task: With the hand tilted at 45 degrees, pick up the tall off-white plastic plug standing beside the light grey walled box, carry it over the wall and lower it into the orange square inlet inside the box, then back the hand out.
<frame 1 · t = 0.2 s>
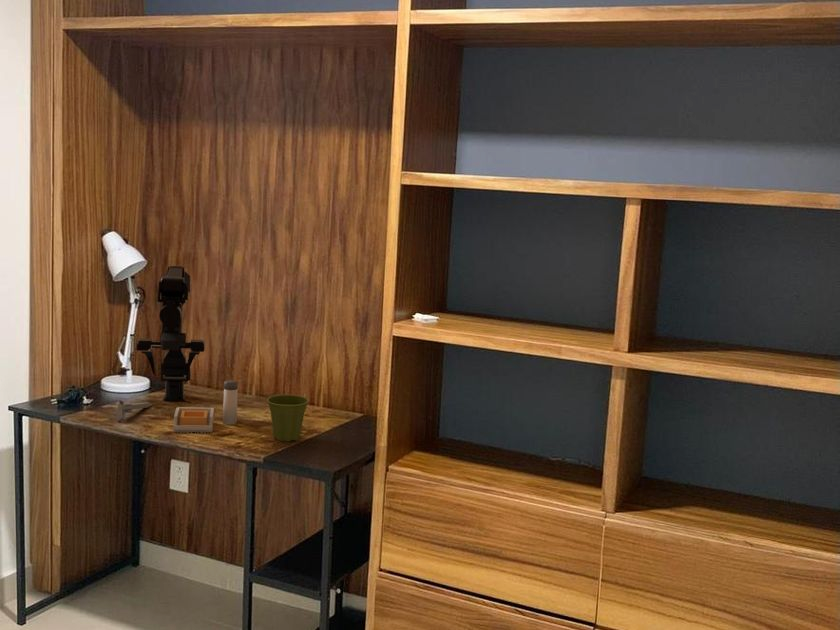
hand: (170, 374, 247), 14 cm above the table, tool pointing down, fingers open, 9 cm apart
plug: (229, 423, 253), on the table
caliper: (135, 414, 257), on the table
socket box: (193, 427, 246), on the table
plant pot: (286, 438, 241), on the table
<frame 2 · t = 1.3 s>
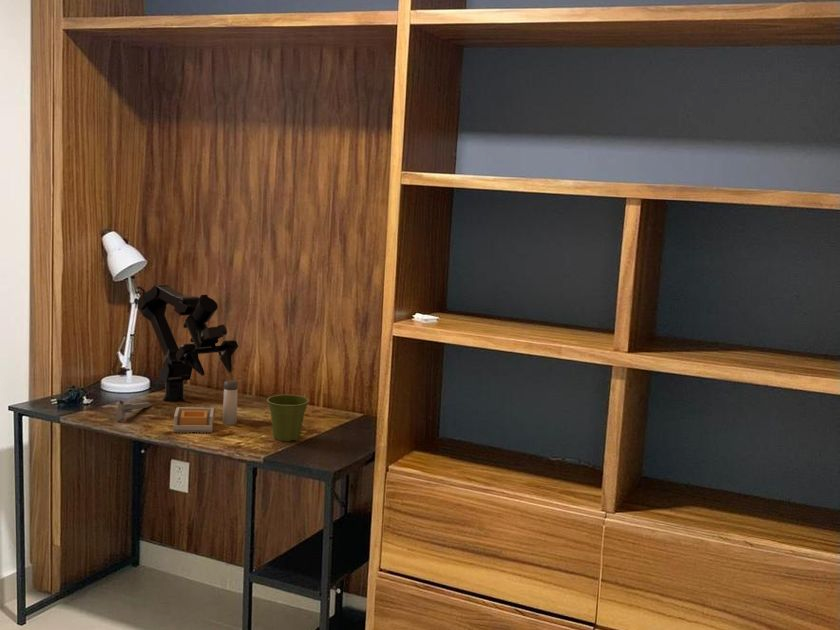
hand: (217, 373, 256), 14 cm above the table, tool tilted 45°, fingers open, 9 cm apart
nothing on the table moved.
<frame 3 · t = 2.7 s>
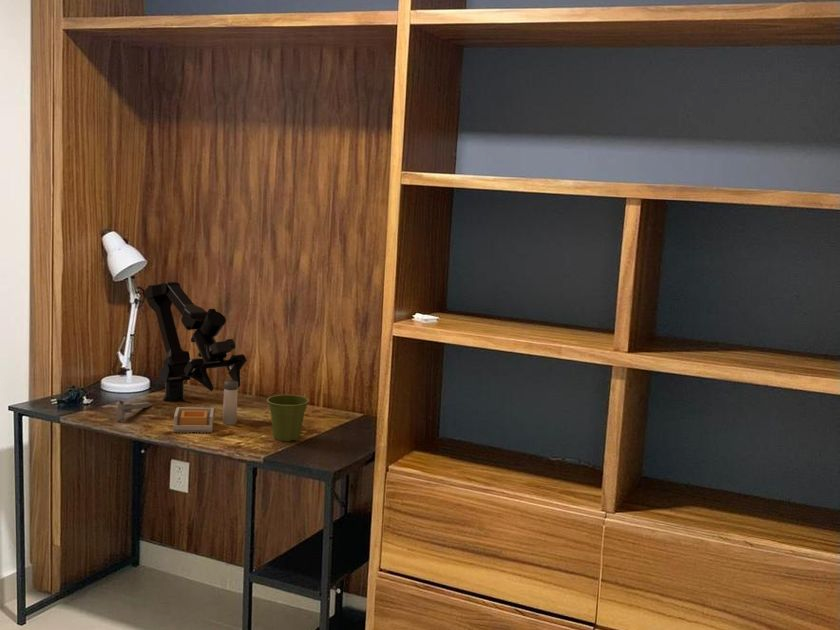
hand: (225, 388, 253), 10 cm above the table, tool tilted 45°, fingers open, 9 cm apart
nothing on the table moved.
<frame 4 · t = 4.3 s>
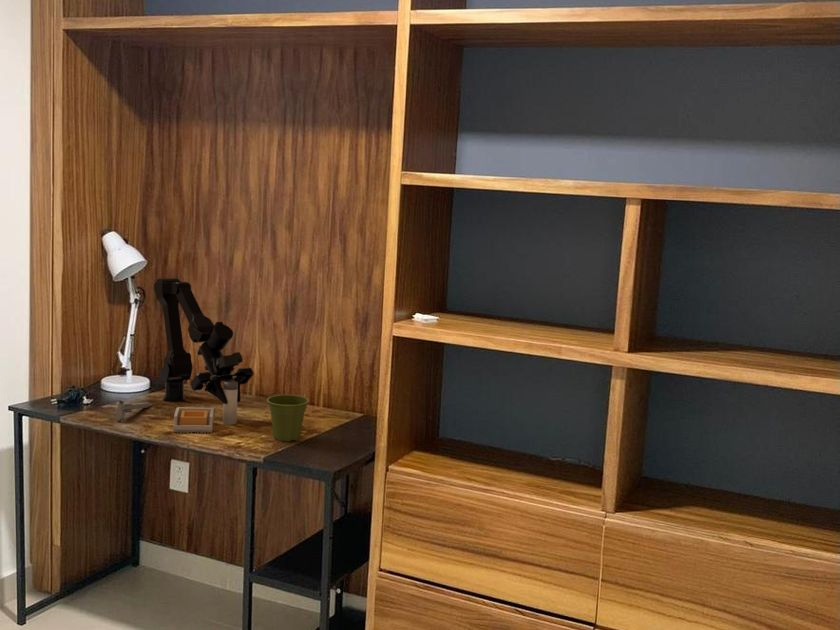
hand: (232, 402, 251), 7 cm above the table, tool tilted 45°, fingers closed on plug, 4 cm apart
plug: (229, 423, 253), on the table, touching gripper
everything else where it was.
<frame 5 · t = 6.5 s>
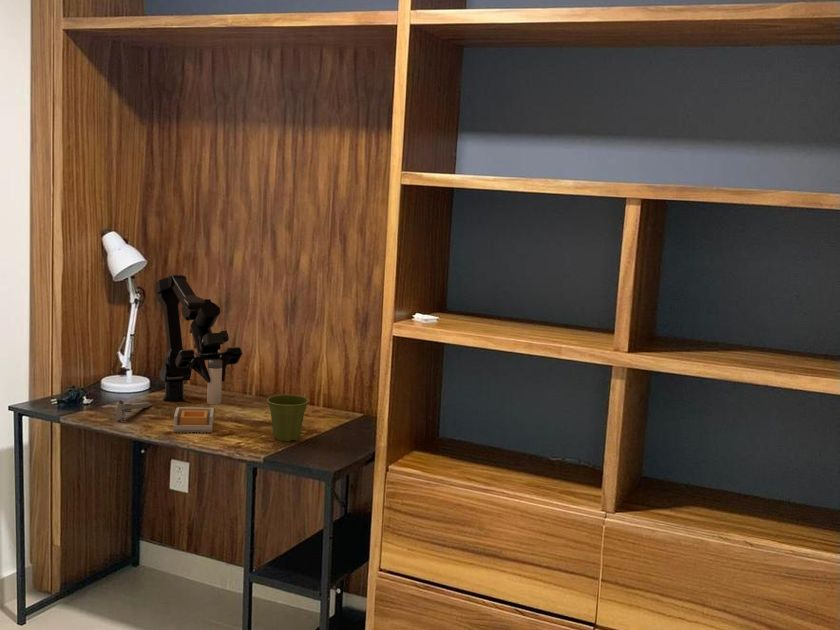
hand: (216, 381, 246), 14 cm above the table, tool tilted 45°, fingers closed on plug, 4 cm apart
plug: (214, 402, 248), point 7 cm above the table, touching gripper
everything else where it was.
when the fingers open (9 cm above the table, at t = 9.0 s): plug drops 1 cm, resting on socket box.
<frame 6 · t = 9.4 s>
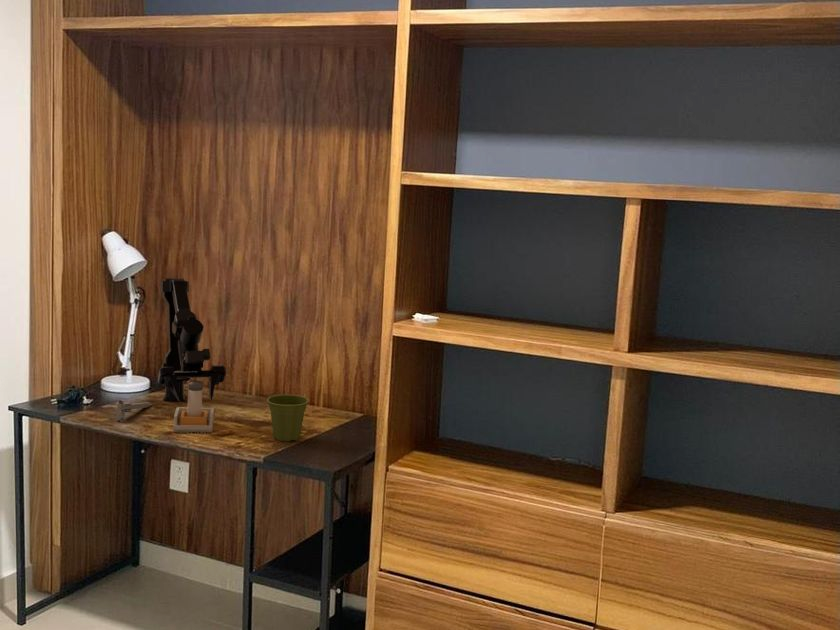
hand: (195, 399, 243), 9 cm above the table, tool tilted 45°, fingers open, 9 cm apart
plug: (193, 424, 246), point 1 cm above the table, touching socket box
everything else where it was.
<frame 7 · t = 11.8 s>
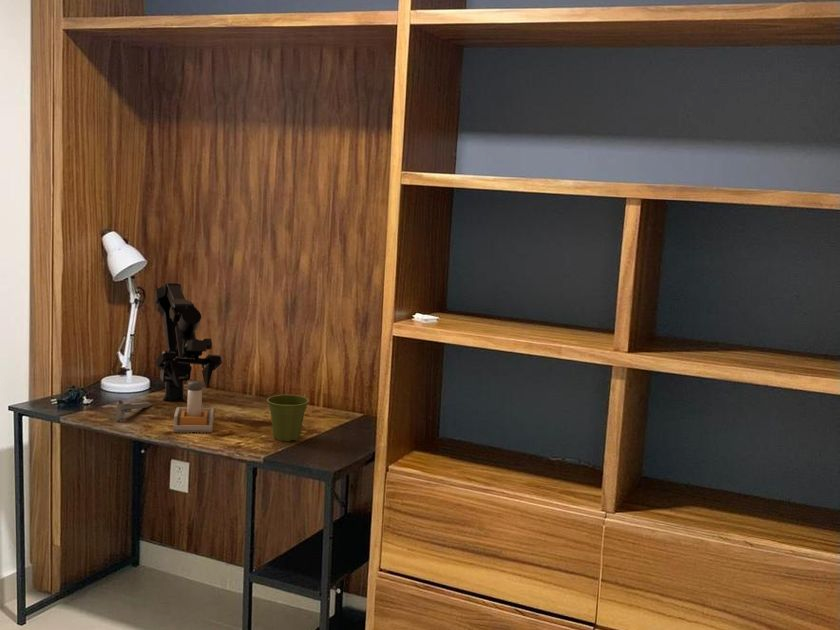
hand: (192, 386, 252), 10 cm above the table, tool tilted 40°, fingers open, 9 cm apart
nothing on the table moved.
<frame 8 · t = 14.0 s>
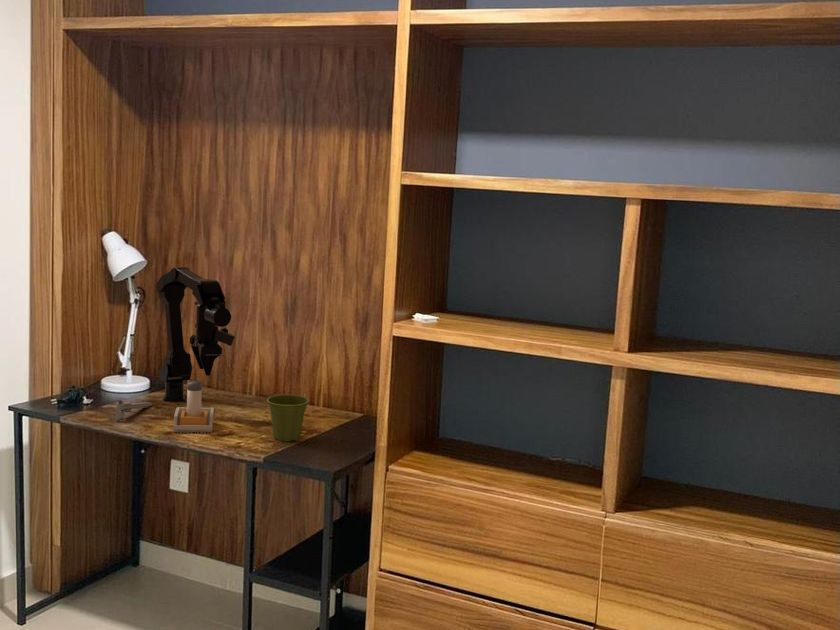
hand: (204, 372, 259), 13 cm above the table, tool pointing down, fingers open, 9 cm apart
nothing on the table moved.
at the end: plug 0.0 cm off-centre on the socket box, point 0.8 cm above the socket box's base; plug tilted 1°; the gripper is holding nothing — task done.
